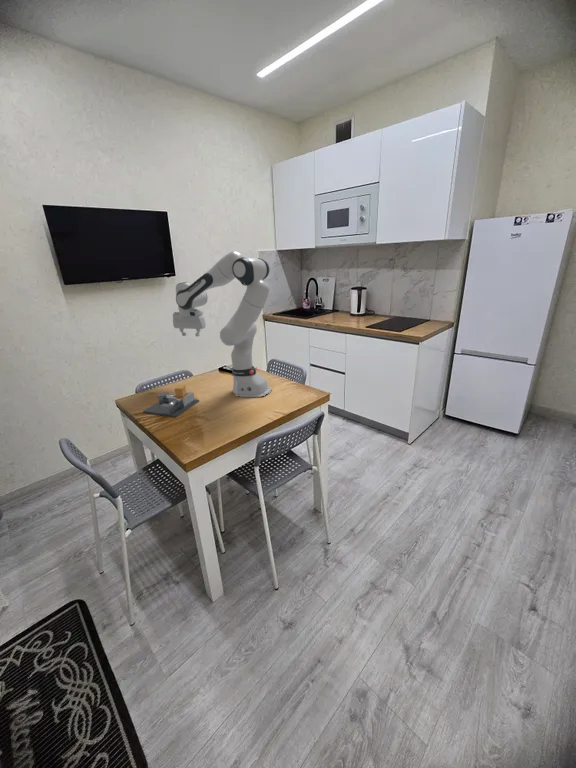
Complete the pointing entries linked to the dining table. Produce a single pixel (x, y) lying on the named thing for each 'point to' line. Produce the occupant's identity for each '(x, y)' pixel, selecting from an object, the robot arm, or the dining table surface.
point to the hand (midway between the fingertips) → (190, 336)
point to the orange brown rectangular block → (180, 391)
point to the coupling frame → (172, 404)
